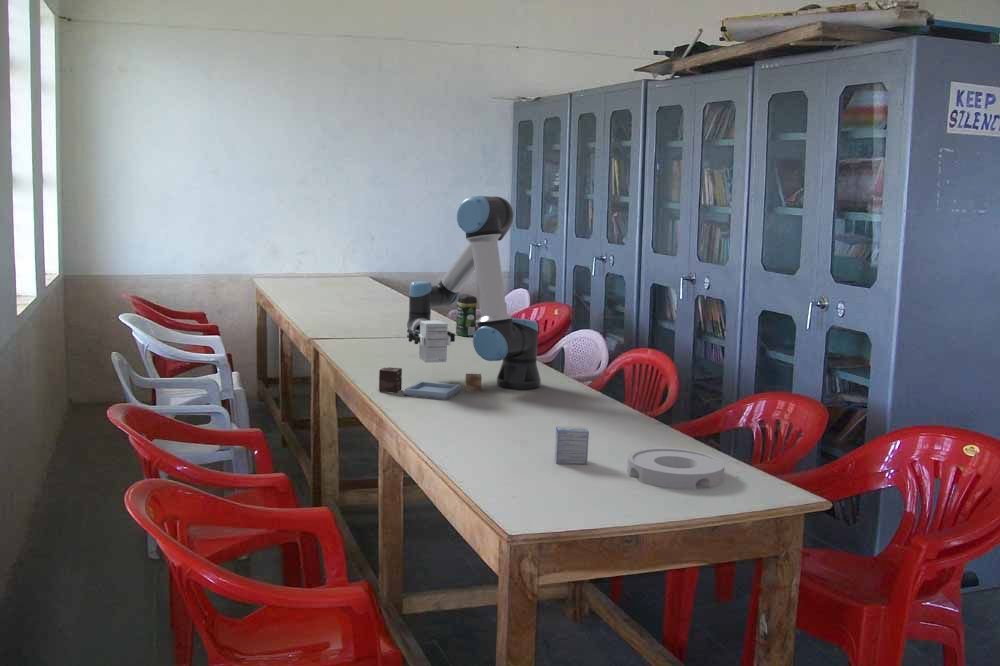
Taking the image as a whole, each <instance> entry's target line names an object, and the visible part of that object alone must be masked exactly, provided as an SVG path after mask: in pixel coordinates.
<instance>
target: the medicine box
mask: <svg viewBox="0 0 1000 666" xmlns="http://www.w3.org/2000/svg"><path fill="white" fill-rule="evenodd" d="M589 438H590V431H589V430H588V428H587V427H586V426H561V425H560V426H556V427H555V443H554V444H555V445H554V461H555V464H556V465H557V464H558V465H559V464H560V465H588V457H589V456H588V455H589Z"/></svg>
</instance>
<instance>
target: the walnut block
mask: <svg viewBox="0 0 1000 666" xmlns="http://www.w3.org/2000/svg"><path fill="white" fill-rule="evenodd" d="M482 378H483V377H482V374H481V373H465V385H464V386H465V387H464V388H466V389H465V392H482V381H483V379H482Z"/></svg>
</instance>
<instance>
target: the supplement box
mask: <svg viewBox="0 0 1000 666" xmlns="http://www.w3.org/2000/svg"><path fill="white" fill-rule="evenodd" d="M448 326H449V325H448V323H446V322H444V321H443V320H438V319H437V320H433V319H432V320H430V321H420V334H421V335H422V336H423V337H424V346H421V345H420V344H419V351H418V353H419V359H420V360H421V361H423V362H424V363H447V360H448V359H447V356H448V355H447V354H448V353H447V351H448V345H447V331H448Z"/></svg>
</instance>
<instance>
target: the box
mask: <svg viewBox="0 0 1000 666" xmlns="http://www.w3.org/2000/svg"><path fill="white" fill-rule="evenodd" d="M378 375H379V376H378V382H379V383H378V392H379V391H380V393H388V392H393V394H397V393H399V392H400V391H402V390H401V389H402V384H403V383H402V379H403V378H402V377H403V368H401V367H390V366H388V367H386V366H385V367H381V369H379V374H378ZM398 391H399V392H398Z"/></svg>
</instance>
